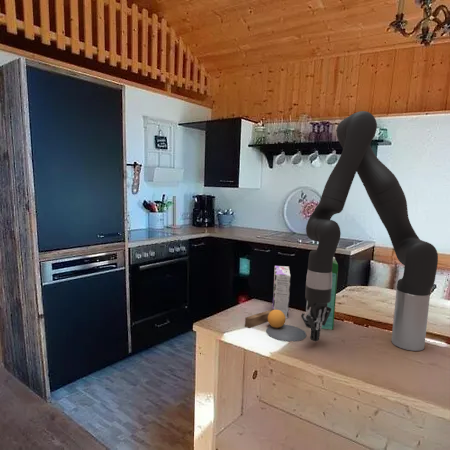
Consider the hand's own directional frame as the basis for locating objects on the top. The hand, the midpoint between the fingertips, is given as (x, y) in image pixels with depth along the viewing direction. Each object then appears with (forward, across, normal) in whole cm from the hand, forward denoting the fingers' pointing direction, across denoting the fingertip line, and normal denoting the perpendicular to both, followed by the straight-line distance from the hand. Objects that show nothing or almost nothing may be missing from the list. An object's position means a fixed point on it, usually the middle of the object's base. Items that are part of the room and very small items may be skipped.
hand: (314, 340), depth 109 cm
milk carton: (+2, +16, +9) cm, 18 cm away
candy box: (+2, +14, +25) cm, 29 cm away
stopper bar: (+2, 0, +22) cm, 22 cm away
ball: (-2, +1, +16) cm, 16 cm away
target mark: (+2, 0, +11) cm, 11 cm away
